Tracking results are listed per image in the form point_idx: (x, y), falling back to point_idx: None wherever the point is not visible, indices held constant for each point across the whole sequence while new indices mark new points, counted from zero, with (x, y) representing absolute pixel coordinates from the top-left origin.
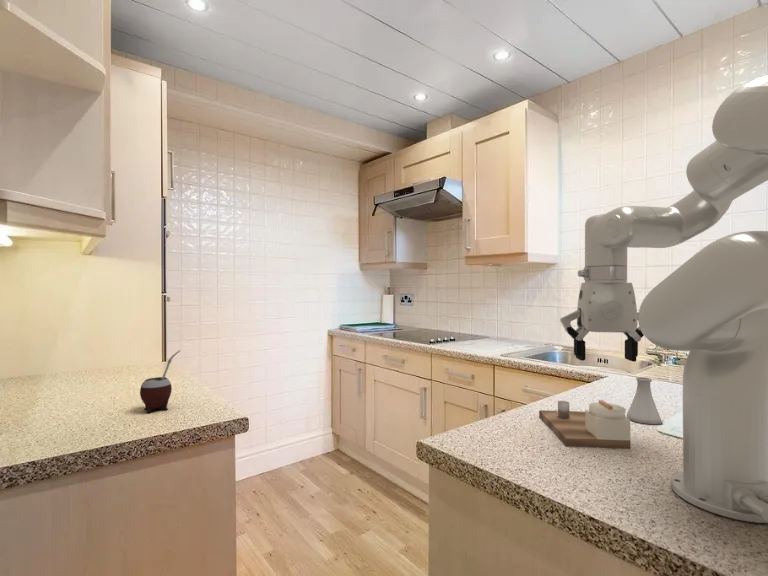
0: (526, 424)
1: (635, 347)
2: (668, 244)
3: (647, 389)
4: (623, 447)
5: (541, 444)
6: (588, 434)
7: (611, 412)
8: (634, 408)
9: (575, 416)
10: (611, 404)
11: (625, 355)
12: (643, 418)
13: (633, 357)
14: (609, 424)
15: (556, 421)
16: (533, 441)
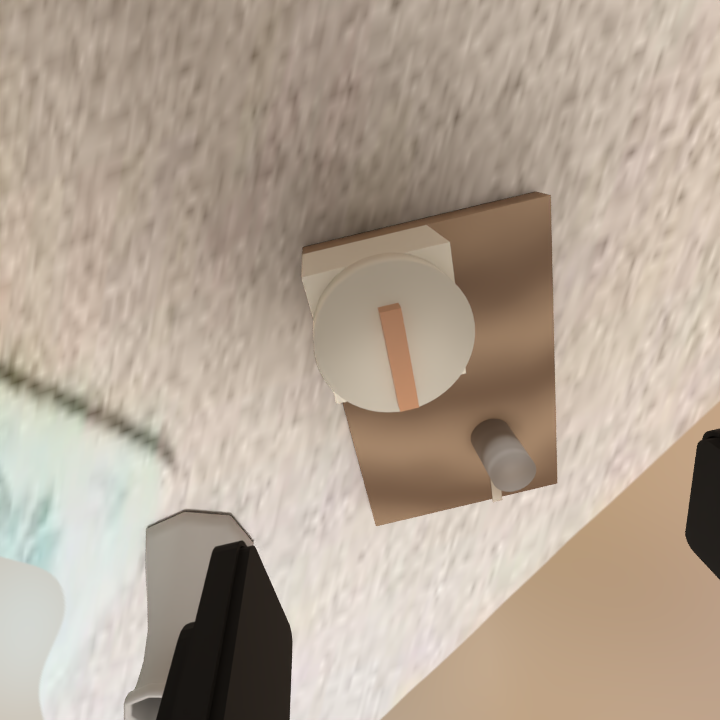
0: (612, 380)
1: (187, 692)
2: None
3: (158, 649)
4: (328, 241)
5: (622, 184)
6: None
7: (394, 260)
8: None
9: (444, 459)
10: (361, 395)
11: (286, 653)
12: (204, 528)
13: (234, 570)
14: (392, 249)
15: (530, 382)
16: (642, 207)
